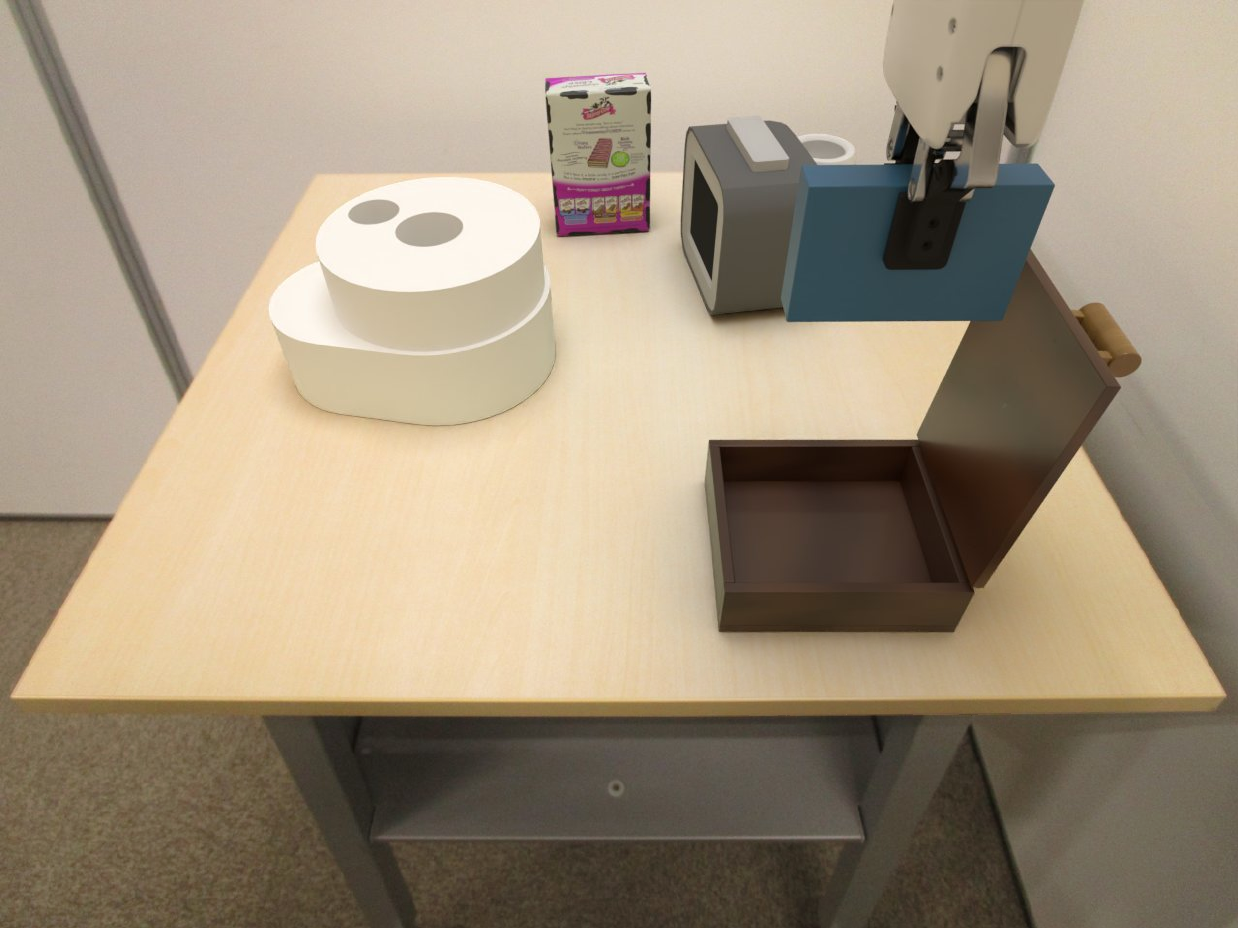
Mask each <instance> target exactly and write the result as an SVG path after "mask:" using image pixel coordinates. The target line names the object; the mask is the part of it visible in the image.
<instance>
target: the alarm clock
mask: <svg viewBox="0 0 1238 928" xmlns="http://www.w3.org/2000/svg"><path fill="white" fill-rule="evenodd" d="M798 137H799V136H797V135H796V133H795V132H794V131H793V130H792V129H791V128H790V127H789V126H788V125H787V123H784V122H781V121H775V120H764V119H763V118H762V116H760V115H750V116H737V117H736V116H735V117H729V118H727V121H726V123H720V124H719V123H718V124H707V125H705V124H704V125H692V126H688V128H687V130H686V132H685V139H684V148H683V149H684V150H683V166H682V167H683V169H682V186H681V203H680V204H681V206H680V240H681V248H682V251H683V255H684V258H685V260H686V262H687V265H688V267H689V269H690V270H689V271H690V272H691V274H692V276H693V279H694V282H695V284H696V286H697V289H698V291H699V294H700V296H701V298H702V302H703V304H704V305H705V308H706V310H707V312H708V313H709V315H711V316H712V315H713V316H714V315H722V314H733V313H742V312H751V311H753V312H754V311H759V310H760V311H762V310H771V309H780V308H783V304H782V300H781V294H782V288H783V282H784V275H785V269H786V262H787V256H788V249H789V243H790V236H791V230H792V223H793V217H794V211H795V204H796V198H797V191H798V185H799V178H800V172H801V166H802V165H817V163H816V162H815V161H814V159H813V158H812V157H811V155H810V154H809V152H808V151H807V150H806V148H805V147H804V146H803V144H802V143H801V142H800V140H799V139H798Z"/></svg>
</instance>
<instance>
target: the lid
mask: <svg viewBox="0 0 1238 928" xmlns="http://www.w3.org/2000/svg"><path fill="white" fill-rule="evenodd" d="M1141 365H1142V355H1141V354H1140V353H1139V351H1138V350H1137V348H1136V347H1135V346H1134V345H1133V343H1132V342H1131V340H1130V339H1129V337H1128V336H1127V335H1126V333H1125V331H1123V329H1122V328H1121V326H1120V324H1119V323H1118V322H1117V321H1116V319H1115V317H1114V316H1113V315H1112V314H1111V312H1110V311H1109V310H1108V308H1107V306H1106V305H1105V304H1103V303H1101V302H1090V303H1087V304H1085V305H1083V306H1081V307H1080V308H1079V309H1077V310H1076V309H1071V308H1070V306H1069V305H1068V303H1067V302H1066V301H1065V299H1064V297H1063V296H1062V294H1061V292H1060V291H1059V290H1058V288H1057V287H1056V285H1055V284H1054V283H1053V280H1052V279H1051V277H1050V276H1049V274H1048V273H1047V272H1046V270H1045V268H1044V267H1043V266H1042V264H1041V263H1040V261H1039V259H1038V258H1037V257H1036V255H1035V254H1034V252H1033V250H1032V249H1031V248H1030V251H1029V254H1028V256H1027V259H1026V261H1025V264H1024V266H1023V269H1022V272H1021V274H1020V277H1019V279H1018V282H1017V284H1016V287H1015V289H1014V292H1013V295H1012V297H1011V300H1010V302H1009V305H1008V307H1007V310H1006V312H1005V315H1004V318H1003V320H1002V321H969V323H968V325H967V328H966V330H965V332H964V333H963V335H962V338H961V340H960V342H959V344H958V346H957V348H956V350H955V352H954V354H953V356H952V358H951V361H950V363H949V365H948V368H947V370H946V372H945V373H944V376H943V378H942V380H941V382H940V384H939V387H937V390H936V392H935V394H934V397H933V399H932V401H931V403H930V405H929V407H928V409H927V411H926V413H925V416H924V417H923V419H922V422H921V424H920V426H919V428H918V430H917V432H916V437H917V440H919V443H920V446H921V449H922V451H923V454H924V457H925V460H926V463H927V465H928V468H929V471H930V474H931V476H932V479H933V482H934V485H935V487H936V490H937V493H938V496H939V498H940V501H941V504H942V507H943V509H944V512H945V515H946V518H947V520H948V523H949V526H950V529H951V531H952V534H953V537H954V540H955V542H956V545H957V548H958V551H959V554H960V556H961V559H962V562H963V565H964V567H965V570H966V573H967V576H968V578H969V581H970V584H971V587H972V588H974V589H984V588H985V587H986V585H987V584H988V582H989V581H990V579H991V578H992V576H993V575H994V574H995V572H996V571H997V569H998V568H999V567H1000V565H1001V563H1002V562H1003V561H1004V559H1005V558H1006V556H1007V555H1008V553H1009V552H1010V550H1011V549H1012V547H1013V546H1014V545H1015V543H1016V541H1017V540H1018V539H1019V537H1020V536H1021V534H1022V533H1023V531H1024V530H1025V529H1026V527H1027V526H1028V524H1029V523H1030V521H1031V520H1032V518H1033V517H1034V515H1035V514H1036V513H1037V511H1038V510H1039V509H1040V507H1041V506H1042V504H1043V503H1044V501H1045V500H1046V498H1047V496H1048V495H1049V493H1050V492H1051V491H1052V489H1053V488H1054V486H1055V485H1056V484H1057V482H1058V481H1059V479H1060V478H1061V476H1062V475H1063V473H1064V472H1065V471H1066V469H1067V467H1069V465H1070V463H1071V462H1072V460H1074V457H1075V456H1076V454H1078V452H1079V450H1080V449H1081V447H1082V446H1083V444H1084V443H1085V441H1086V440H1087V438H1088V437H1089V435H1090V434H1091V433H1092V431H1093V430H1094V428H1095V427H1096V425H1097V424H1098V422H1099V421H1100V419H1101V418H1102V417H1103V415H1104V414H1105V412H1106V411H1107V410H1108V408H1109V407H1110V405H1111V404H1112V403H1113V400H1114V399H1115V398H1116V396H1117V395H1118V393H1119V392H1120V390H1121V389H1122V386H1121V384H1120V383H1119V381H1118V380H1117V378H1126V377H1128V376H1129V375H1131V374H1134V373H1135V372H1136V371H1137V370H1138V369H1139V368H1140V366H1141Z"/></svg>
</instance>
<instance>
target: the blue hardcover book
mask: <svg viewBox="0 0 1238 928" xmlns="http://www.w3.org/2000/svg"><path fill="white" fill-rule="evenodd" d="M935 165H936V164H934V165H933V167H934V166H935ZM912 168H913V164H888V165H884V164H856V165H802V166H801V172H800V178H799V185H798V191H797V198H796V204H795V211H794V217H793V223H792V230H791V236H790V243H789V249H788V256H787V262H786V269H785V275H784V282H783V288H782V294H781V300H782V304H783V307H782V308H783V312H784V317H785V320H786V322H787V323H846V322H847V323H848V322H849V323H851V322H852V323H854V322H855V323H857V322H858V323H862V322H866V323H867V322H868V323H871V322H873V323H874V322H880V323H881V322H970V321H1002V320H1003V318H1004V315H1005V312H1006V310H1007V307H1008V305H1009V302H1010V300H1011V297H1012V295H1013V292H1014V289H1015V287H1016V284H1017V282H1018V279H1019V277H1020V274H1021V272H1022V269H1023V266H1024V264H1025V261H1026V259H1027V256H1028V254H1029V251H1030V249H1031V248H1032V246H1033V243H1034V241H1035V238H1036V235H1037V233H1038V231H1039V228H1040V226H1041V222H1042V221H1043V218H1044V215H1045V212H1046V210H1047V207H1048V205H1049V203H1050V200H1051V197H1052V195H1053V193H1054V189H1055V188H1056V184H1055V182H1054V181H1053V180H1052V179H1051V178H1050V176H1049V175H1048V174H1047V173H1046V171H1045V170H1044V169H1043V168H1042V166H1041V165H1040V164H1039V163H1037V162H1035V163H1031V162H1030V163H999V169H998V176H997V180H996V183H995V185H994V187H993V188H991V189H974V193H973V196H972V198H971V200H970V201H969V202H966V205H965V208H964V211H963V214H962V218H961V221H960V224H959V227H958V230H957V233H956V237H955V240H954V243H953V246H952V249H951V253H950V256H949V259H948V262H947V264H946V266H945V267H943V268H942V269H938V270H889V269H887V268H886V267H885V265H884V263H883V255H884V251H885V247H886V243H887V239H888V235H889V231H890V227H891V223H892V219H893V215H894V211H895V207H896V203H897V199H898V195H899V193H907V192H908V185H909V180H910V176H911V172H912Z"/></svg>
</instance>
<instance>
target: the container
mask: <svg viewBox="0 0 1238 928" xmlns="http://www.w3.org/2000/svg"><path fill="white" fill-rule="evenodd" d="M542 244H543V243H542V231H541V220H540V216H539V213H538V211H537V209H536V207H535V206H534V205H533V204H532V202H530V200H529V199H527V197H525V196H524V195H522V194H521V193H519V192H518V191H516V190H513V188H510V187H507V186H504V185H502V184H500V183H495V182H492V181H488V180H484V179H477V178H473V177H472V178H471V177H461V176H460V177H459V176H437V177H436V176H435V177H423V178H415V179H408V180H403V181H399V182H395V183H390V184H386V185H384V186H380V187H377V188H373V189H371V190H368V191H366V192H364V193H362V194H359V195H358V196H356V197H354V198H352V199H350V200H349V201H347V202H345V203H343V204H342V205H341V206H339V207H338V208H336V209H335V210H334V211H333V212H332V213H331V214H330V215H328V216H327V218H325V220H324V221H323V222H322V224H321V225H320V228H319V229H318V231H317V234H316V237H315V251H316V255H317V258H318V260H317V261H316V262H313V263H310V264H309V265H306V266H304V267H302V268H300V269H299V270H297V271H295V272H293V274H291V275H290V276H288V277H287V278H286V279H285V280H283V281H282V282H281V283H280V284H279V285H278V286H277V288H276V289H275V290H274V292H273V293H272V294H271V297H270V299H269V302H268V316H269V319H270V322H271V324H272V327H273V329H274V332H275V335H276V337H277V341H278V343H279V345H280V348H281V350H282V353H283V356H284V359H285V361H286V363H287V366H288V369H289V371H290V374H291V377H292V379H293V382H294V384H295V387H296V390H297V391H298V393H299V394H300V395H301V397H302V398H303V399H304V400H305V401H306V402H307V403H309V404H310V405H312V406H313V407H316V408H318V409H319V410H322V411H326V412H329V413H331V414H332V413H333V414H338V415H346V416H352V417H358V418H367V419H375V420H382V421H390V422H398V423H405V424H413V425H420V426H440V427H441V426H455V425H462V424H469V423H473V422H478V421H482V420H485V419H488V418H491V417H495V416H497V415H499V414H502V413H504V412H506V411H509V410H510V409H512V408H514V407H516V406H518V405H519V404H521V403H523V402H524V401H525V400H527V399H529V398H530V397H531V396H532V395H533V394H534V393H535V392H536V391H538V390H539V389H540V388H541V386H542V385H543V384H544V383H545V382H546V380H547V379H548V378H549V376H550V374H551V372H552V370H553V368H554V364H555V362H556V355H557V350H556V338H555V337H556V336H555V324H554V312H553V301H552V299H553V298H552V287H551V286H552V285H551V276H550V272H549V270H548V267H547V265H546V264H545V262H544V254H543V253H544V252H543V245H542Z"/></svg>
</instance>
